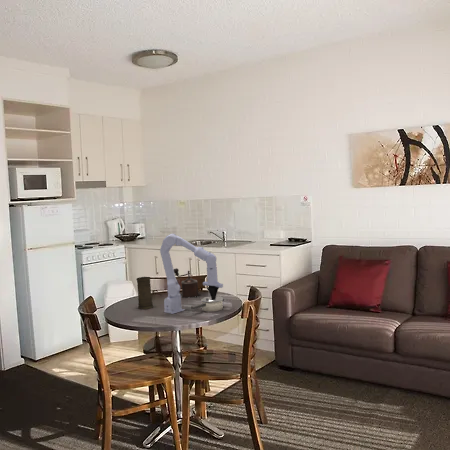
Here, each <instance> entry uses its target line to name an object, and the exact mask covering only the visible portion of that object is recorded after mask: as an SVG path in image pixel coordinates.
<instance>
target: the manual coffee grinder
mask: <svg viewBox="0 0 450 450" xmlns="http://www.w3.org/2000/svg"><path fill="white" fill-rule="evenodd" d="M173 269H174V273H175V277H178V278H180V277H181V278H182V277H185V276H188V278H186V279H185V280H181V292H182V293H181V298H182V299H187V298H188V297H190V298H196V297H195V296H198V297H199V287H198V285H199V284H198V280H197V279H194V278H191V276H190V275H191V271H190V270H187V273H184V274H181V275H180V273H179V268H177V267H176V268H173Z"/></svg>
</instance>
